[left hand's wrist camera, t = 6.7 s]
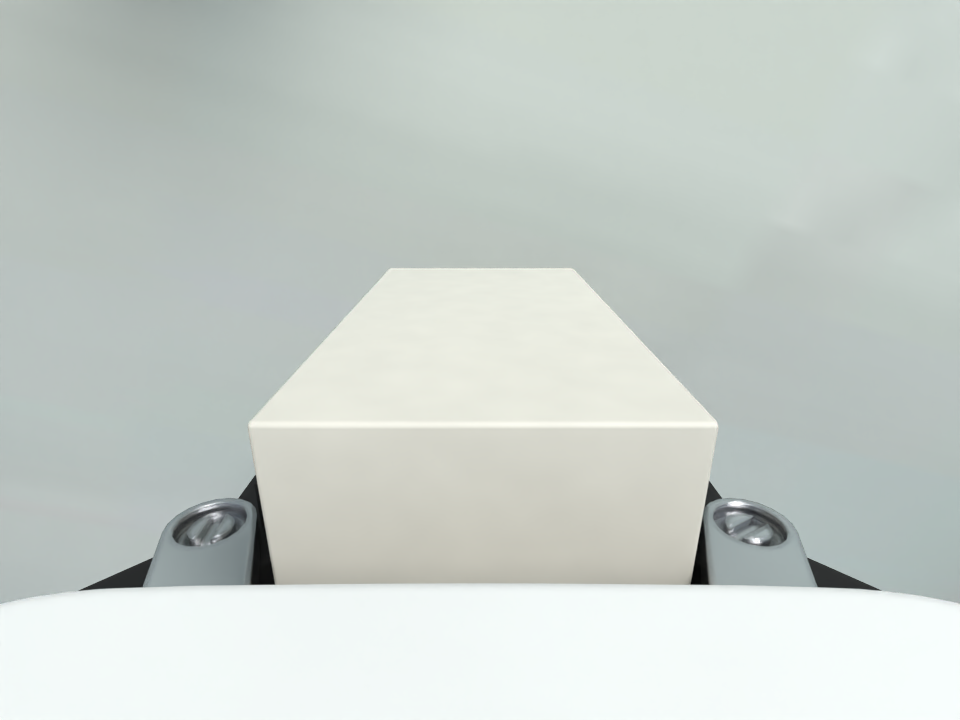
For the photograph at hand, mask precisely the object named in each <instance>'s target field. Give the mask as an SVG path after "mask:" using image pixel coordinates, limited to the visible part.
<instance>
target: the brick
mask: <svg viewBox="0 0 960 720" xmlns="http://www.w3.org/2000/svg"><path fill="white" fill-rule="evenodd" d="M248 432H249V438H250V444H251V449H252V455H253V461H254V467H255V472H256V478H257V484H258V489H259V495H260V501H261V507H262V512H263V518H264V524H265V530H266V535H267V541H268V547H269V553H270V558H271V564H272V570H273V575H274V581H275V585H300V584H429V583H545V584H657V585H690V584H691V578H692V573H693V567H694V562H695V556H696V550H697V545H698V539H699V534H700V528H701V522H702V517H703V511H704V506H705V500H706V495H707V489H708V483H709V478H710V472H711V467H712V461H713V455H714V450H715V444H716V439H717V433H718V423H717V421H716V420H715V419H714V418H713V417H712V416H711V415H710V414H709V413H708V412H707V411H706V410H705V408H704V407H703V406H702V405H701V404H700V403H699V402H698V401H697V400H696V399H695V398H694V397H693V396H692V395H691V394H690V393H689V391H688V390H687V389H686V388H685V387H684V386H683V385H682V384H681V383H680V382H679V381H678V380H677V379H676V378H675V377H674V375H673V374H672V373H671V372H670V371H669V370H668V369H667V368H666V367H665V366H664V365H663V364H662V363H661V362H660V361H659V360H658V358H657V357H656V356H655V355H654V354H653V353H652V352H651V351H650V350H649V349H648V348H647V347H646V346H645V345H644V344H643V342H642V341H641V340H640V339H639V338H638V337H637V336H636V335H635V334H634V333H633V332H632V331H631V330H630V329H629V328H628V327H627V325H626V324H625V323H624V322H623V321H622V320H621V319H620V318H619V317H618V316H617V315H616V314H615V313H614V312H613V311H612V310H611V308H610V307H609V306H608V305H607V304H606V303H605V302H604V301H603V300H602V299H601V298H600V297H599V296H598V295H597V294H596V292H595V291H594V290H593V289H592V288H591V287H590V286H589V285H588V284H587V283H586V282H585V281H584V280H583V279H582V278H581V277H580V275H579V274H578V273H577V272H576V271H575V270H574V269H572V268H390V269H388V271H387V272H386V273H385V274H384V275H383V276H382V277H381V278H380V279H379V280H378V282H377V283H376V284H375V285H374V286H373V287H372V288H371V289H370V290H369V291H368V292H367V294H366V295H365V296H364V297H363V298H362V299H361V300H360V301H359V302H358V303H357V304H356V306H355V307H354V308H353V309H352V310H351V311H350V312H349V313H348V314H347V315H346V316H345V318H344V319H343V320H342V321H341V322H340V323H339V324H338V325H337V326H336V327H335V329H334V330H333V331H332V332H331V333H330V334H329V335H328V336H327V337H326V338H325V339H324V341H323V342H322V343H321V344H320V345H319V346H318V347H317V348H316V349H315V350H314V351H313V353H312V354H311V355H310V356H309V357H308V358H307V359H306V360H305V361H304V362H303V364H302V365H301V366H300V367H299V368H298V369H297V370H296V371H295V372H294V373H293V374H292V376H291V377H290V378H289V379H288V380H287V381H286V382H285V383H284V384H283V385H282V386H281V388H280V389H279V390H278V391H277V392H276V393H275V394H274V395H273V396H272V397H271V398H270V400H269V401H268V402H267V403H266V404H265V405H264V406H263V407H262V408H261V409H260V411H259V412H258V413H257V414H256V415H255V416H254V417H253V418H252V419H251V420H250V421H249V424H248Z"/></svg>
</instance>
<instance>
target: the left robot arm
mask: <svg viewBox="0 0 960 720" xmlns="http://www.w3.org/2000/svg"><path fill="white" fill-rule="evenodd" d="M0 720H960V604H959V603H955V602H950V601H946V600H940V599H935V598H929V597H924V596H918V595H912V594H906V593H897V592H887V591H881V590H879V589H877V588H875V587H872V586H870V585H868V584H866V583H863V582H861V581H859V580H857V579H854V578H852V577H850V576H847V575H845V574H843V573H841V572H838V571H836V570H834V569H832V568H829V567H827V566H825V565H823V564H820V563H818V562H816V561H814V560H811V559H809V558H807V557H806V554H805V551H804V548H803V545H802V543H801V540H800V537H799V534H798V532H797V530H796V529H795V527H794V526H793V524H792V523H791V522H790V521H789V520H788V519H786V518H785V517H784V516H783V515H781V514H780V513H778V512H776V511H775V510H773V509H771V508H769V507H767V506H764V505H762V504H759V503H756V502H753V501H749V500H745V499H736V498H725V499H722V498H721V496H720V495H719V494H718V492H717V491H716V489H715V488H714V487H713V485H712V484H711V483H710V481H709V483H708V489H707V495H706V500H705V506H704V511H703V517H702V522H701V528H700V534H699V539H698V545H697V550H696V556H695V562H694V567H693V573H692V578H691V584H690V585H657V584H545V583H429V584H300V585H275V581H274V575H273V570H272V564H271V558H270V553H269V547H268V541H267V535H266V530H265V524H264V518H263V512H262V507H261V501H260V495H259V489H258V484H257V478H256V475H255V476H254V478H253V479H252V481H251V482H250V483H249V485H248V486H247V487H246V489H245V490H244V491H243V493H242V494H241V496H240V497H239V498H238V499H235V498H224V499H215V500H211V501H207V502H204V503H201V504H198V505H196V506H193V507H191V508H189V509H187V510H185V511H184V512H182V513H180V514H179V515H177V516H176V517H175V518H174V519H172V520H171V521H170V522H169V523H168V524H167V526H166V527H165V529H164V530H163V532H162V534H161V537H160V540H159V543H158V545H157V548H156V551H155V554H154V557H153V558H151V559H149V560H147V561H144V562H142V563H140V564H138V565H135V566H133V567H131V568H129V569H126V570H124V571H122V572H120V573H117V574H115V575H113V576H111V577H108V578H106V579H104V580H102V581H99V582H97V583H95V584H93V585H90V586H88V587H86V588H83V589H81V590H79V591H73V592H63V593H54V594H48V595H42V596H36V597H30V598H25V599H20V600H14V601H10V602H5V603H1V604H0Z"/></svg>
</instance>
